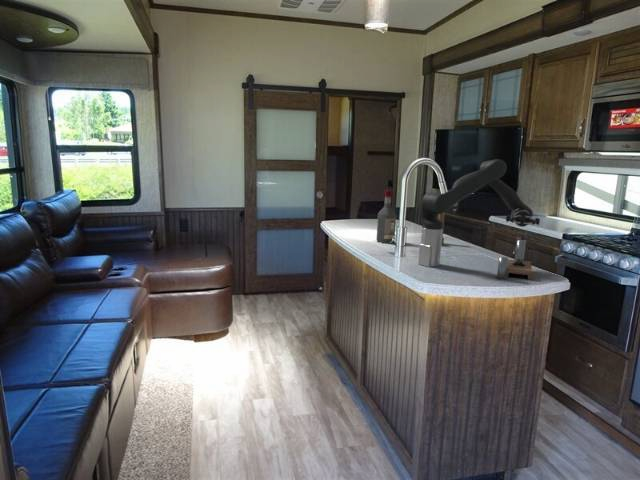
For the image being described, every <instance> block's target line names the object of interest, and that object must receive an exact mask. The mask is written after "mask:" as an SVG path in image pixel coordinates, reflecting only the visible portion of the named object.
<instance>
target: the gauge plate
mask: <svg viewBox="0 0 640 480" xmlns="http://www.w3.org/2000/svg"><path fill="white" fill-rule="evenodd" d="M514 262H515V259H508V265H507V274H506V278H509V276H510V275H509V274H514V273H515V274H514V275H518V274H521V275H524V276H527V277H526V278H527V281H532V275H533V269H532V262H531V261H525V260H524V262H523V266H514Z"/></svg>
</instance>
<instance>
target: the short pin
mask: <svg viewBox="0 0 640 480" xmlns="http://www.w3.org/2000/svg"><path fill="white" fill-rule="evenodd" d="M508 260H509V257H506V256H499V257H498V263H497V272H496V280H500V281H501V280H503V281H505V280H507V277H506V274H507V265H508Z"/></svg>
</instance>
